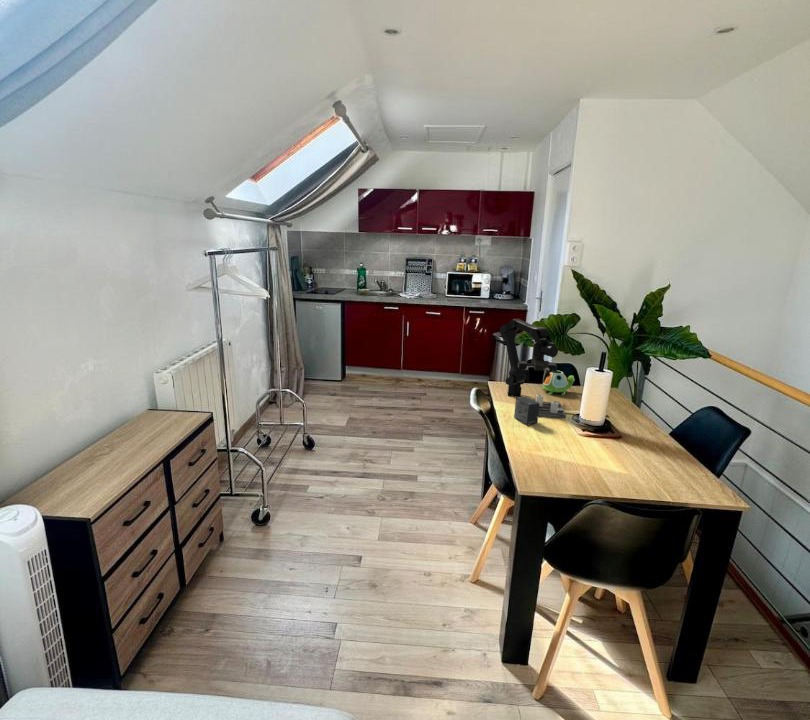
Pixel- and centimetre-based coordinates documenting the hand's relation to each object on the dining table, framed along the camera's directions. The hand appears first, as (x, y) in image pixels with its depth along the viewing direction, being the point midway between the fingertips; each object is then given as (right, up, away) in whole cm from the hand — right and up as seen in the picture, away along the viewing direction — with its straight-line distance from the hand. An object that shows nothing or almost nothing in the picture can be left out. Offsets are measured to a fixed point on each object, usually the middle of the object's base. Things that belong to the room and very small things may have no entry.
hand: (535, 382), depth 236 cm
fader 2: (+5, -14, -12) cm, 19 cm away
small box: (-10, -18, -19) cm, 28 cm away
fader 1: (+1, -12, -3) cm, 12 cm away
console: (+4, -14, -6) cm, 16 cm away
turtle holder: (+18, -7, +23) cm, 31 cm away
